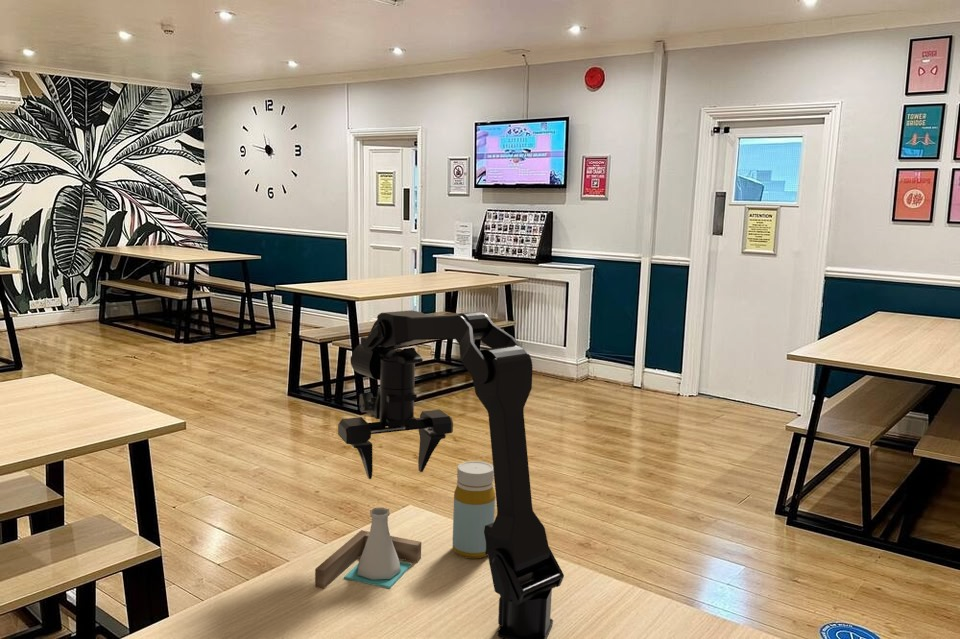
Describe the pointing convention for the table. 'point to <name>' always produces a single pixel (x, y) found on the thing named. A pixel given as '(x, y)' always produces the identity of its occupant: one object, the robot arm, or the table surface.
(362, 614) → the table surface
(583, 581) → the table surface
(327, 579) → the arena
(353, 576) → the pad
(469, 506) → the bottle
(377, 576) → the flask
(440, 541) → the table surface
